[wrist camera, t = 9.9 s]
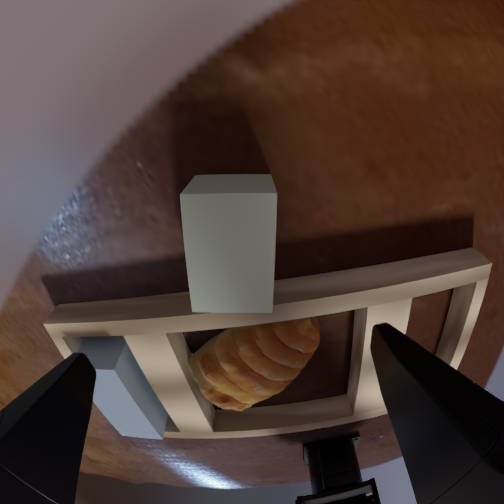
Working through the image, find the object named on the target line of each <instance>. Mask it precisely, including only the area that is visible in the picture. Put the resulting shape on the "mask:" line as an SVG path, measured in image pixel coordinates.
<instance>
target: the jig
mask: <svg viewBox="0 0 504 504" xmlns="http://www.w3.org/2000/svg"><path fill="white" fill-rule="evenodd" d="M491 266H492V263H491V262H490V261H489V260H488V259H487V258H485V257H484V256H483V255H482V254H481V253H479V252H478V251H477V250H476V249H474V248H473V247H471V248H466V249H461V250H456V251H451V252H445V253H440V254H435V255H429V256H424V257H418V258H413V259H407V260H402V261H396V262H390V263H384V264H378V265H372V266H366V267H360V268H354V269H348V270H342V271H335V272H329V273H322V274H316V275H309V276H302V277H295V278H288V279H281V280H274V293H273V313H208V312H192V306H191V299H190V291H189V292H180V293H171V294H162V295H153V296H144V297H134V298H124V299H114V300H104V301H93V302H81V303H69V304H58V306H57V307H56V308H55V309H54V311H53V312H52V313H51V315H50V316H49V317H48V319H47V320H46V321H45V322H44V326H45V328H46V329H47V331H48V333H49V334H50V336H51V338H52V339H53V341H54V343H55V344H56V346H57V347H58V349H59V351H60V352H61V354H62V355H63V357H64V358H65V359H66V358H67V357H68V356H70V355H71V354H72V353H75V352H77V351H78V349H79V347H80V346H81V344H82V342H83V340H84V339H85V337H93V336H124V338H125V340H126V342H127V344H128V346H129V348H130V350H131V352H132V353H133V355H134V357H135V359H136V361H137V363H138V364H139V366H140V368H141V370H142V371H143V373H144V375H145V377H146V378H147V380H148V382H149V383H150V385H151V387H152V389H153V390H154V392H155V393H156V395H157V397H158V398H159V400H160V401H161V403H162V405H163V406H164V408H165V409H166V411H167V412H168V417H167V422H166V426H165V431H164V436H163V437H167V438H236V437H253V436H265V435H275V434H284V433H292V432H300V431H307V430H313V429H319V428H325V427H331V426H336V425H341V424H346V423H351V422H355V421H360V420H364V419H368V418H372V417H376V416H380V415H384V414H387V413H388V412H387V409H386V406H385V404H384V401H383V398H382V395H381V391H380V387H379V383H378V378H377V374H376V371H375V367H374V363H373V359H372V355H371V350H370V343H371V336H372V328H373V326H374V325H376V324H380V323H385V322H386V323H389V324H390V325H392V326H393V327H395V328H396V329H398V330H399V331H401V332H402V333H404V334H406V329H407V324H408V319H409V314H410V308H411V302H412V298H413V297H418V296H422V295H427V294H431V293H435V292H439V291H443V290H447V289H451V288H454V290H453V295H452V299H451V303H450V307H449V311H448V314H447V318H446V322H445V325H444V329H443V332H442V335H441V339H440V342H439V345H438V348H437V351H436V354H435V355H436V356H437V357H439V358H440V359H442V360H443V361H444V362H446V363H447V364H449V365H450V366H452V367H453V368H455V369H456V370H457V368H458V366H459V364H460V361H461V359H462V357H463V354H464V352H465V349H466V347H467V344H468V342H469V339H470V336H471V334H472V331H473V328H474V325H475V322H476V319H477V316H478V313H479V310H480V307H481V304H482V300H483V297H484V293H485V290H486V286H487V282H488V278H489V274H490V270H491ZM349 310H355V313H354V329H353V342H352V354H351V364H350V374H349V383H348V391H347V394H344V395H339V396H334V397H328V398H323V399H317V400H311V401H304V402H297V403H290V404H282V405H274V406H264V407H254V408H245V409H244V410H243V411H236V410H233V409H229V410H227V409H225V410H215V408H214V406H213V404H212V403H211V402H210V401H209V400H208V399H206V398H205V397H204V396H203V394H202V393H201V391H200V389H199V385H198V383H197V382H196V380H195V379H194V377H193V372H192V370H191V368H190V366H189V359H190V357H191V356H192V355H191V353H190V350H189V348H188V345H187V342H186V340H185V337H184V335H183V332H189V331H200V330H211V329H221V328H231V327H240V326H248V325H257V324H265V323H272V322H280V321H287V320H294V319H301V318H307V317H314V316H320V315H326V314H332V313H338V312H343V311H349Z"/></svg>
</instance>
